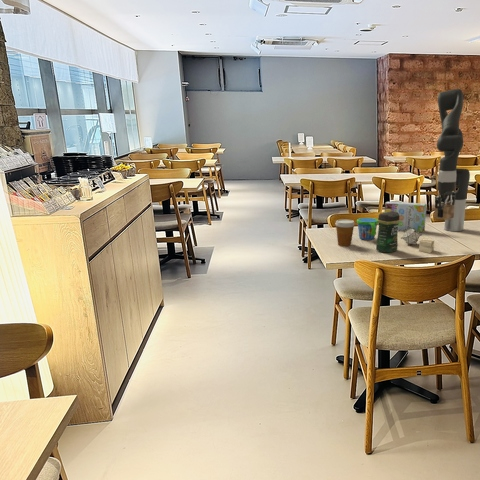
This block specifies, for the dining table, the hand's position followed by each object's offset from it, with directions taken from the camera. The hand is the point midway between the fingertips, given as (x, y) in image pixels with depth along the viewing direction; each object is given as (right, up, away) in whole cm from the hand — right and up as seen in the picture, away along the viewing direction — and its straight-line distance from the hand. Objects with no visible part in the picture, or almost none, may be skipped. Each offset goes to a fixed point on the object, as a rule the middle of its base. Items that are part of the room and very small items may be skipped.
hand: (444, 215), depth 203 cm
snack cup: (-29, -11, +23) cm, 39 cm away
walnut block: (0, -1, 0) cm, 1 cm away
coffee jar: (-26, -16, +2) cm, 31 cm away
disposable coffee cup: (-43, -14, +14) cm, 48 cm away
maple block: (-9, -16, -1) cm, 18 cm away
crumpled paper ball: (-12, -14, +10) cm, 21 cm away
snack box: (-4, -6, +39) cm, 40 cm away
